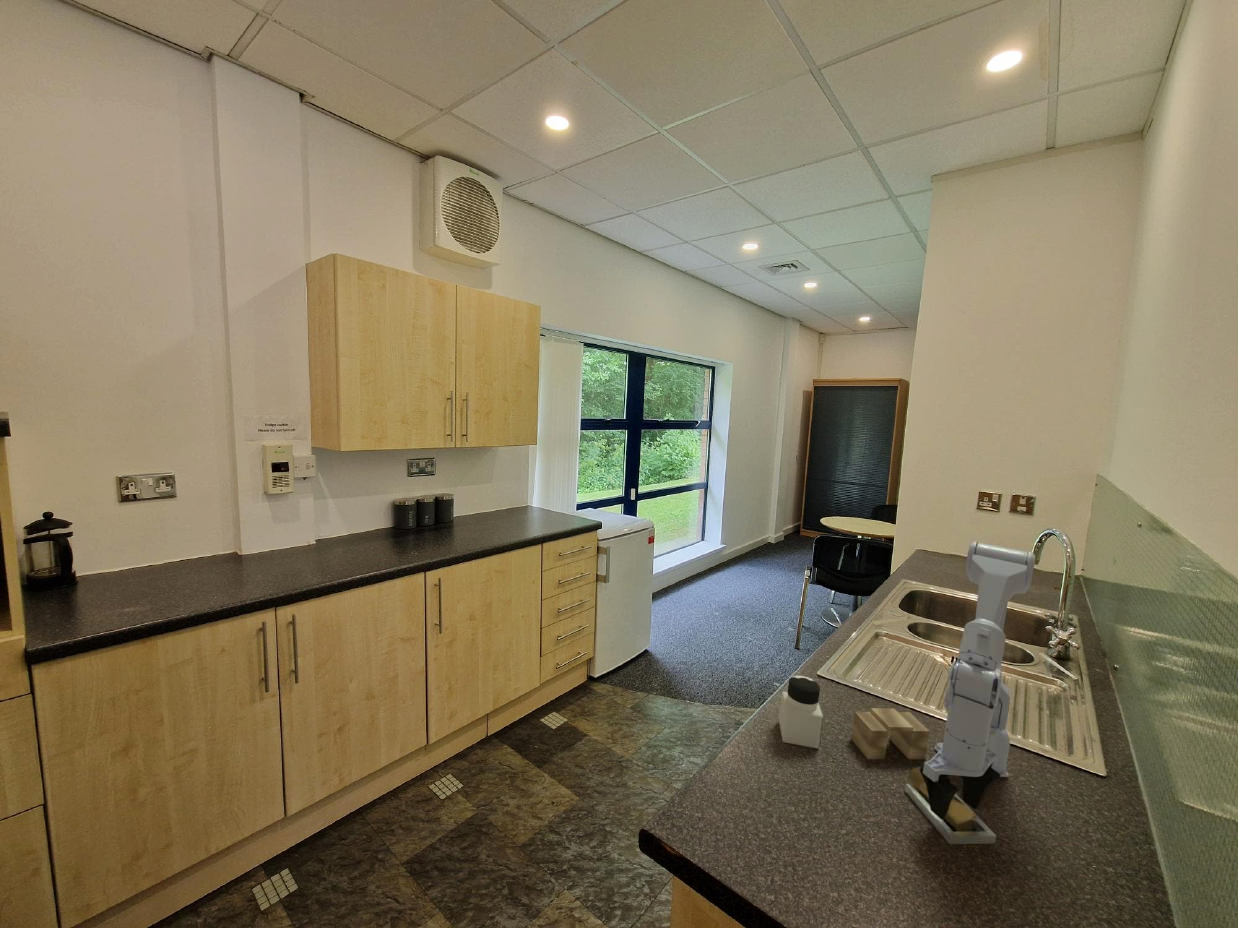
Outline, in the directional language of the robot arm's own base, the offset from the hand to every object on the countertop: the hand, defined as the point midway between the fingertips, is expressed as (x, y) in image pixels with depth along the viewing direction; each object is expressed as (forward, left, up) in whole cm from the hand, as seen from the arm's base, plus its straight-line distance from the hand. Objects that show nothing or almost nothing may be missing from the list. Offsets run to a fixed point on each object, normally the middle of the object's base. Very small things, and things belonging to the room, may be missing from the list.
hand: (953, 809), depth 82 cm
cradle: (0, -2, -2) cm, 3 cm away
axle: (+1, -3, -2) cm, 4 cm away
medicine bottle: (+17, -22, -2) cm, 28 cm away
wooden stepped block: (0, -18, -2) cm, 18 cm away
